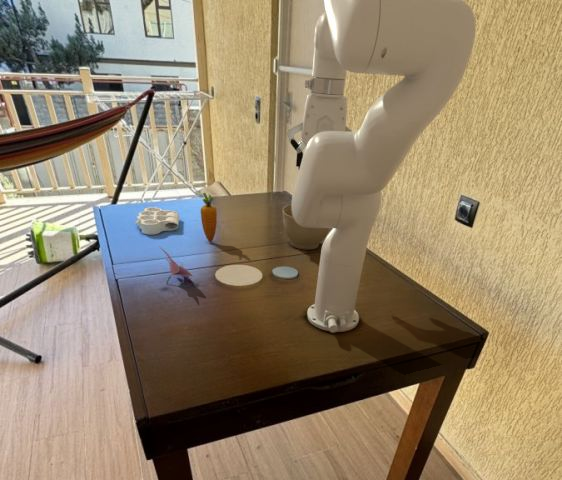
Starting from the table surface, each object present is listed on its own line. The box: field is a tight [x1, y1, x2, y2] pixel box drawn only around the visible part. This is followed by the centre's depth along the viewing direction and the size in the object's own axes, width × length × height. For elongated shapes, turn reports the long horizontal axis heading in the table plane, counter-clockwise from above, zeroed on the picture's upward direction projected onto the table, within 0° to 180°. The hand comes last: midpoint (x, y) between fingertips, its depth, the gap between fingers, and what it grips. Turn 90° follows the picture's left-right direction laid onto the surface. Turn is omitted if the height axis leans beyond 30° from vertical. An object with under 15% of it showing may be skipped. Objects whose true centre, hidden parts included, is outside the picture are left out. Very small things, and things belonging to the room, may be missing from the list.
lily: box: [159, 246, 194, 285], centre depth 102 cm, size 12×12×10 cm
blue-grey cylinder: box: [272, 265, 299, 280], centre depth 111 cm, size 7×7×2 cm
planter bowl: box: [282, 203, 331, 251], centre depth 127 cm, size 16×16×11 cm
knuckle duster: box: [133, 206, 180, 236], centre depth 135 cm, size 3×18×15 cm
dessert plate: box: [214, 264, 263, 287], centre depth 108 cm, size 13×13×1 cm
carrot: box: [200, 192, 218, 243], centre depth 123 cm, size 5×5×15 cm
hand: (318, 171), depth 100 cm, fingers open, 9 cm apart
